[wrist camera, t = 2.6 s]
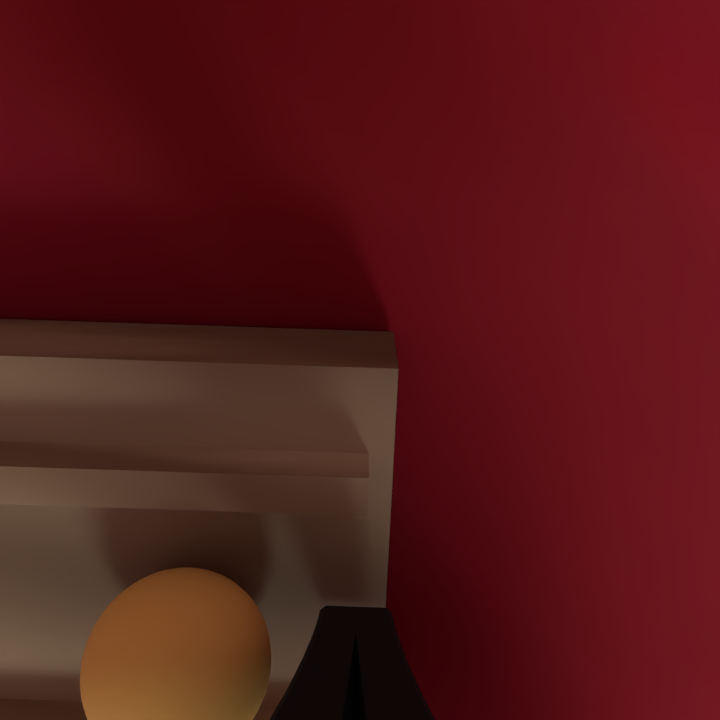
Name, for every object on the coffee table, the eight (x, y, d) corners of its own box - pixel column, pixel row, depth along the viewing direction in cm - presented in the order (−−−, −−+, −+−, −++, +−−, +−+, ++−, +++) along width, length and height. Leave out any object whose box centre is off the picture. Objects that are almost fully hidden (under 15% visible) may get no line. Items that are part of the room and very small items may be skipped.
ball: (282, 668, 15) (257, 822, 11) (127, 662, 15) (57, 815, 11) (281, 534, 14) (253, 662, 10) (113, 529, 14) (31, 655, 10)
